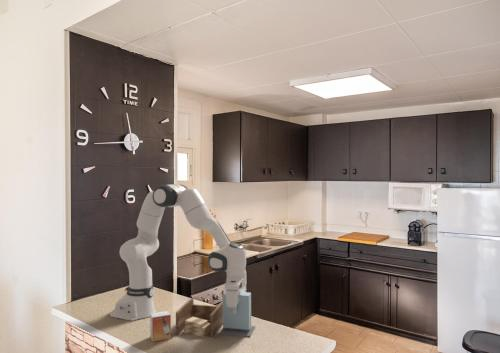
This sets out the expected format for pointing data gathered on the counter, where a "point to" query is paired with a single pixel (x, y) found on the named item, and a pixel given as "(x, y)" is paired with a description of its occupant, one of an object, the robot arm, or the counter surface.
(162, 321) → the small box
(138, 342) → the counter surface
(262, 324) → the counter surface
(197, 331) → the offcut stack
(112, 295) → the counter surface
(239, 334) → the rubber mat
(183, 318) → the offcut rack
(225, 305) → the pale blue upright block
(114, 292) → the counter surface
